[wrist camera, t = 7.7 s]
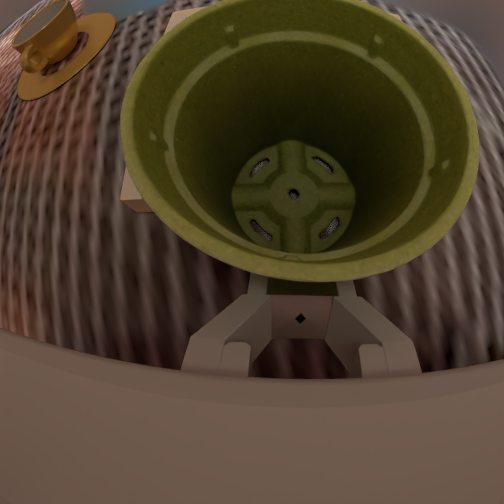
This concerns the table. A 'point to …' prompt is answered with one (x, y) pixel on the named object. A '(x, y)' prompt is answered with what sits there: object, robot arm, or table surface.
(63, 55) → the cup
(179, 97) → the plant pot
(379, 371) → the robot arm
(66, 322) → the table surface
